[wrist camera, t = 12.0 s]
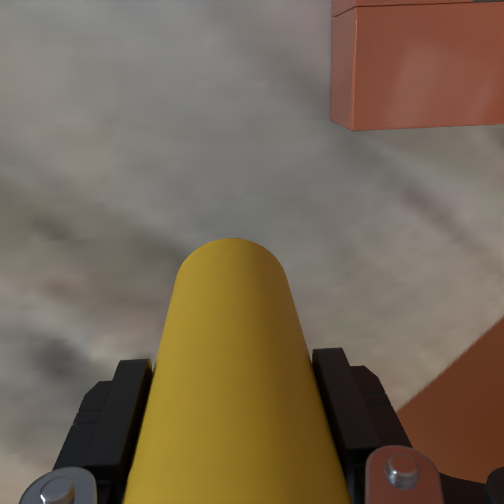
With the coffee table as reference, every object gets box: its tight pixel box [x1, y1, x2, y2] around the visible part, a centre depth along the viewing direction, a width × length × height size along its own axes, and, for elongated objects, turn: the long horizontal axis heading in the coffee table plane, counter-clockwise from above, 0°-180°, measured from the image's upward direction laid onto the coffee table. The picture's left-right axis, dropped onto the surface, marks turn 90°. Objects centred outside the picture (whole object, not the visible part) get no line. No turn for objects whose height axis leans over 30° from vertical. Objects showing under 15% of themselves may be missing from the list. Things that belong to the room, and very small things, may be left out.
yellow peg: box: [121, 238, 353, 504], centre depth 12 cm, size 4×4×13 cm
